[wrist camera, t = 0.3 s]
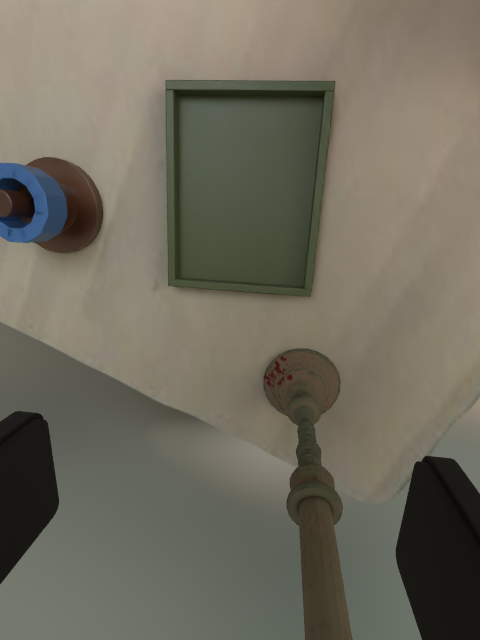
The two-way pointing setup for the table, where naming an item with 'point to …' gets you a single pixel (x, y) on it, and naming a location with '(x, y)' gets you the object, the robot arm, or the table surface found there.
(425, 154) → the table surface
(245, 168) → the tray
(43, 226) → the ring
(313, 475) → the candlestick holder
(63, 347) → the table surface
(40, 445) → the robot arm
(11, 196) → the stand
